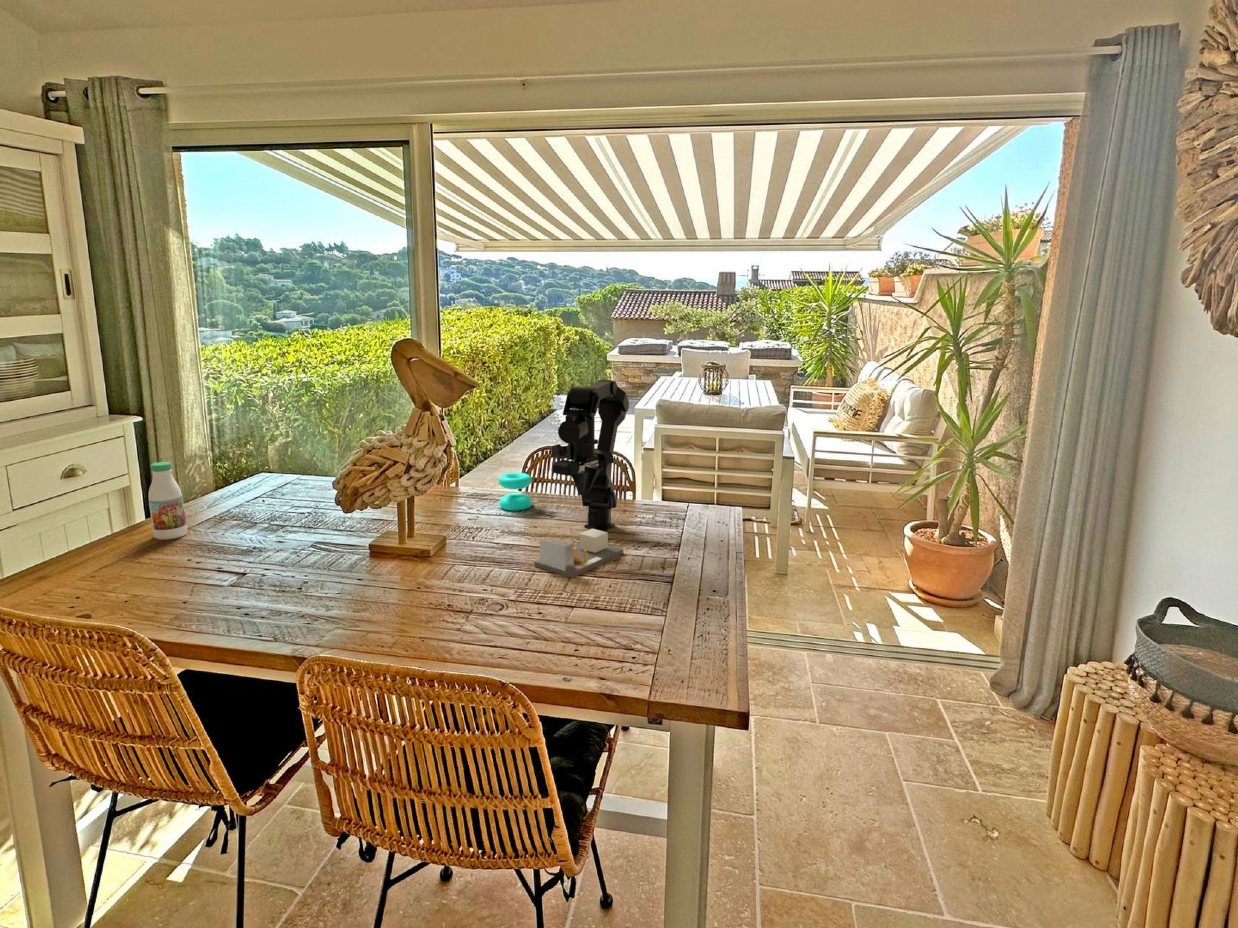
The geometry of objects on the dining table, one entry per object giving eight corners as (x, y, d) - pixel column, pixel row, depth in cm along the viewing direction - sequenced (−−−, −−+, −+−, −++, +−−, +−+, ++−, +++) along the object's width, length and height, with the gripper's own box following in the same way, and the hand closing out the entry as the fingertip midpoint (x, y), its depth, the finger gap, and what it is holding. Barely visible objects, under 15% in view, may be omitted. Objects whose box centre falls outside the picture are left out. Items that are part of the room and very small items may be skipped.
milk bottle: (147, 538, 194) (136, 465, 189) (174, 529, 201) (164, 458, 196) (167, 542, 191) (156, 468, 186) (194, 533, 198) (184, 461, 193)
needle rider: (565, 555, 179) (565, 542, 178) (588, 562, 175) (588, 549, 174) (559, 558, 177) (559, 544, 176) (583, 565, 173) (583, 551, 172)
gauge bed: (586, 543, 192) (586, 517, 190) (623, 553, 185) (623, 526, 183) (534, 566, 176) (533, 537, 175) (571, 577, 169) (571, 548, 168)
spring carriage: (592, 543, 188) (592, 528, 187) (607, 547, 185) (607, 532, 184) (579, 548, 184) (579, 533, 183) (595, 552, 181) (595, 537, 180)
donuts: (531, 479, 217) (497, 480, 216) (532, 511, 219) (498, 512, 218) (531, 471, 226) (499, 471, 225) (532, 501, 229) (500, 502, 228)
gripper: (582, 426, 199) (582, 482, 202) (535, 437, 184) (536, 497, 188) (614, 431, 192) (614, 488, 196) (569, 443, 178) (569, 504, 181)
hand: (583, 494), depth 191 cm, fingers closed
